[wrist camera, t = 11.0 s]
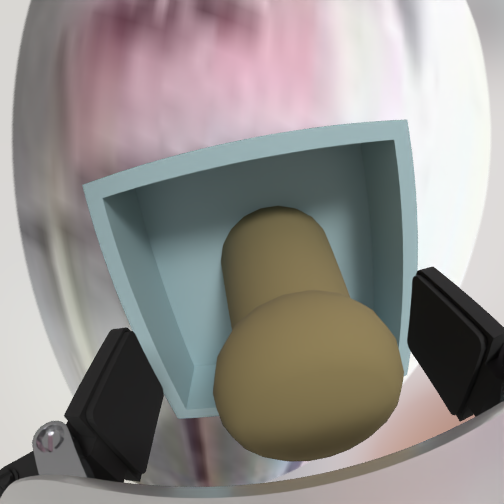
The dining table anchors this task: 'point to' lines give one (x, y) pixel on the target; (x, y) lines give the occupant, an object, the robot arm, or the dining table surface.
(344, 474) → the robot arm
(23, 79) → the dining table surface
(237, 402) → the cork
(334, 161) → the bin
